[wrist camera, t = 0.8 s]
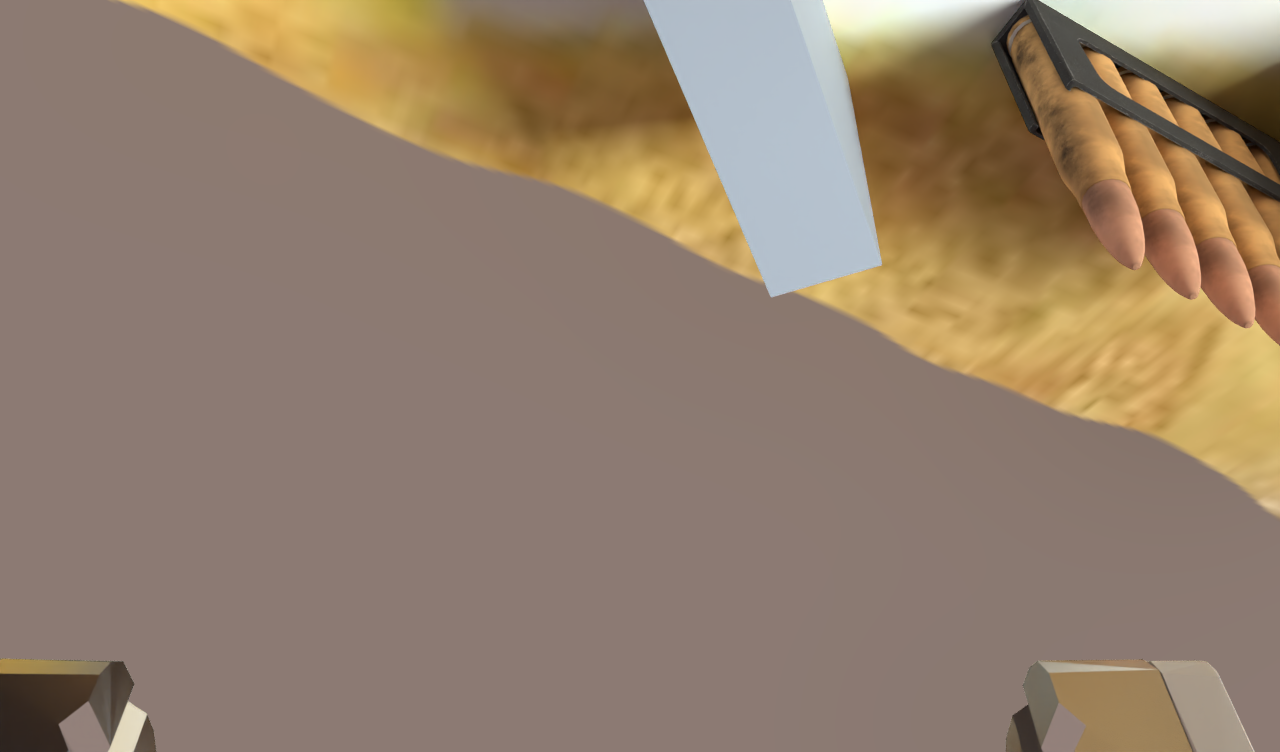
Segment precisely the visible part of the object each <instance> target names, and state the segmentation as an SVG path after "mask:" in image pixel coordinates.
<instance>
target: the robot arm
mask: <svg viewBox="0 0 1280 752" xmlns="http://www.w3.org/2000/svg"><path fill="white" fill-rule="evenodd" d="M133 686H134V682H133V680H132V678H131V676H130V674H129V672H128V670H127V668H126V666H125V664H124V662H123V661H84V660H83V661H82V660H34V659H6V658H5V659H4V658H2V659H1V658H0V752H156V745H155V737H154V730H153V727H152V725H151V723H150V720H149V717H148V715H147V714H146V713H145V712H143V711H142V710H140V709H139V708H137V707H135V706H134V705H133V704H131V703H130V702H128V699H129V697H130V694H131V692H132V689H133ZM1023 688H1024V691H1025V695H1026V698H1027V702H1028V705H1027V706H1025V707H1024V708H1022V709H1021V710H1019V711H1018V712H1017V713H1015V714H1014V715H1013V716H1012V719H1011V722H1010V726H1009V729H1008V733H1007V737H1006V752H1255V751H1254V749H1253V747H1252V745H1251V743H1250V741H1249V739H1248V737H1247V735H1246V732H1245V730H1244V728H1243V726H1242V724H1241V722H1240V719H1239V717H1238V715H1237V713H1236V711H1235V709H1234V707H1233V705H1232V702H1231V700H1230V698H1229V696H1228V694H1227V692H1226V690H1225V687H1224V685H1223V683H1222V681H1221V679H1220V677H1219V675H1218V672H1217V671H1216V670H1215V669H1214V668H1213V667H1212V666H1210V664H1209V663H1208V662H1205V661H1149V662H1148V661H1147V662H1146V661H1144V660H1142V659H1141V660H1140V659H1139V660H1069V661H1068V660H1067V661H1037V662H1036V663H1034V664H1033V665H1032V666H1031V667H1030V668H1029V670H1028V672H1027V675H1026V678H1025V681H1024V683H1023Z"/></svg>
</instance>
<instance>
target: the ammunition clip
mask: <svg viewBox="0 0 1280 752" xmlns="http://www.w3.org/2000/svg"><path fill="white" fill-rule="evenodd" d="M991 44H992V48H993V50H994V53H995V55H996V57H997V59H998V62H999V64H1000V66H1001V69H1002V71H1003V73H1004V76H1005V78H1006V80H1007V82H1008V85H1009V87H1010V89H1011V92H1012V94H1013V96H1014V98H1015V101H1016V103H1017V105H1018V108H1019V110H1020V112H1021V115H1022V117H1023V119H1024V121H1025V124H1026V126H1027V128H1028V131H1029V132H1030V133H1032V134H1034V135H1036V136H1037V137H1039V138H1041V139H1043V140H1045V142H1046V144H1047V146H1048V149H1049V151H1050V154H1051V156H1052V158H1053V161H1054V163H1055V166H1056V168H1057V171H1058V173H1059V175H1060V177H1061V179H1062V181H1063V182H1064V184H1065V185H1066V186H1067V187H1068V189H1069V190H1070V191H1071V192H1072V193H1073V194H1074V195H1075V197H1076V199H1077V201H1078V203H1079V205H1080V207H1081V209H1082V211H1083V212H1084V213H1085V215H1086V217H1087V220H1088V222H1089V224H1090V226H1091V228H1092V229H1093V231H1094V233H1095V234H1096V236H1097V237H1098V239H1099V240H1100V242H1101V243H1102V244H1103V246H1104V247H1105V248H1106V249H1107V251H1108V252H1109V253H1110V254H1111V255H1112V256H1113V257H1114V258H1115V259H1116V260H1117V261H1118V262H1120V263H1121V264H1123V265H1124V266H1126V267H1128V268H1130V269H1133V270H1137V269H1139V268H1140V267H1141V265H1142V262H1143V258H1144V254H1145V256H1146V257H1147V259H1148V260H1149V262H1150V263H1151V265H1152V266H1153V268H1154V269H1155V270H1156V272H1157V273H1158V274H1159V275H1160V277H1161V278H1162V279H1163V280H1164V281H1165V282H1166V283H1167V284H1168V285H1169V286H1170V287H1171V288H1172V289H1173V290H1174V291H1176V292H1177V293H1178V294H1180V295H1182V296H1184V297H1186V298H1188V299H1195V298H1197V296H1198V294H1199V291H1200V287H1201V288H1202V290H1203V291H1204V292H1205V294H1206V295H1207V296H1208V298H1209V299H1210V301H1211V302H1212V303H1213V304H1214V305H1215V306H1216V308H1217V309H1218V310H1219V311H1220V312H1221V313H1223V314H1224V315H1225V316H1226V317H1227V318H1228V319H1229V320H1231V321H1232V322H1234V323H1235V324H1237V325H1239V326H1241V327H1244V328H1250V327H1251V326H1252V325H1253V323H1254V319H1255V320H1256V321H1257V323H1258V324H1259V325H1260V327H1261V328H1262V329H1263V330H1264V331H1265V332H1266V333H1267V334H1268V335H1269V336H1270V337H1271V338H1272V339H1273V340H1274V341H1275V342H1276V343H1277V344H1279V345H1280V142H1278V141H1277V140H1275V139H1273V138H1272V137H1270V136H1268V135H1266V134H1265V133H1263V132H1261V131H1260V130H1258V129H1256V128H1255V127H1253V126H1251V125H1249V124H1248V123H1246V122H1244V121H1243V120H1241V119H1239V118H1238V117H1236V116H1234V115H1232V114H1231V113H1229V112H1227V111H1226V110H1224V109H1222V108H1221V107H1219V106H1217V105H1215V104H1214V103H1212V102H1210V101H1209V100H1207V99H1205V98H1204V97H1202V96H1200V95H1198V94H1197V93H1195V92H1193V91H1192V90H1190V89H1188V88H1187V87H1185V86H1183V85H1181V84H1180V83H1178V82H1176V81H1175V80H1173V79H1171V78H1170V77H1168V76H1166V75H1164V74H1163V73H1161V72H1159V71H1158V70H1156V69H1154V68H1153V67H1151V66H1149V65H1147V64H1146V63H1144V62H1142V61H1141V60H1139V59H1137V58H1136V57H1134V56H1132V55H1130V54H1129V53H1127V52H1125V51H1124V50H1122V49H1120V48H1119V47H1117V46H1115V45H1113V44H1112V43H1110V42H1108V41H1107V40H1105V39H1103V38H1102V37H1100V36H1098V35H1096V34H1095V33H1093V32H1091V31H1090V30H1088V29H1086V28H1085V27H1083V26H1081V25H1079V24H1078V23H1076V22H1074V21H1073V20H1071V19H1069V18H1068V17H1066V16H1064V15H1062V14H1061V13H1059V12H1057V11H1056V10H1054V9H1052V8H1051V7H1049V6H1047V5H1045V4H1044V3H1042V2H1040V1H1039V0H1026V1H1025V2H1024V3H1023V4H1022V6H1021V7H1020V8H1019V9H1018V11H1017V12H1016V13H1015V14H1014V16H1013V17H1012V18H1011V19H1010V21H1009V22H1008V23H1007V24H1006V26H1005V27H1004V28H1003V30H1002V31H1001V32H1000V33H999V35H998V36H997V37H996V38H995V40H994V41H993V42H992V43H991Z"/></svg>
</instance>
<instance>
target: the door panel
mask: <svg viewBox="0 0 1280 752" xmlns="http://www.w3.org/2000/svg"><path fill="white" fill-rule="evenodd" d="M644 2H645V5H646V7H647V9H648V12H649V14H650V16H651V19H652V21H653V23H654V26H655V28H656V30H657V33H658V35H659V37H660V40H661V42H662V44H663V47H664V49H665V51H666V54H667V56H668V58H669V61H670V63H671V65H672V68H673V70H674V72H675V75H676V77H677V79H678V82H679V84H680V86H681V89H682V91H683V93H684V96H685V98H686V100H687V103H688V105H689V107H690V110H691V112H692V114H693V117H694V119H695V121H696V124H697V126H698V128H699V131H700V133H701V135H702V138H703V140H704V142H705V145H706V147H707V149H708V152H709V154H710V156H711V159H712V161H713V163H714V166H715V168H716V170H717V173H718V175H719V177H720V180H721V182H722V184H723V187H724V189H725V191H726V194H727V196H728V198H729V201H730V203H731V205H732V208H733V210H734V212H735V215H736V217H737V219H738V222H739V224H740V226H741V229H742V231H743V233H744V236H745V238H746V240H747V243H748V245H749V247H750V250H751V252H752V254H753V257H754V259H755V261H756V264H757V266H758V268H759V271H760V273H761V275H762V278H763V280H764V282H765V285H766V287H767V289H768V292H769V294H770V296H771V297H774V296H778V295H781V294H784V293H788V292H791V291H795V290H798V289H802V288H805V287H809V286H812V285H815V284H819V283H822V282H826V281H829V280H833V279H836V278H839V277H843V276H846V275H850V274H853V273H857V272H860V271H863V270H867V269H870V268H874V267H877V266H881V265H882V262H881V256H880V251H879V245H878V240H877V234H876V229H875V223H874V218H873V212H872V207H871V201H870V196H869V191H868V185H867V180H866V174H865V169H864V163H863V158H862V152H861V147H860V141H859V136H858V130H857V125H856V119H855V114H854V108H853V103H852V97H851V92H850V86H849V81H848V77H847V74H846V71H845V67H844V64H843V61H842V58H841V55H840V52H839V49H838V46H837V43H836V40H835V37H834V34H833V31H832V28H831V25H830V22H829V19H828V15H827V12H826V9H825V6H824V3H823V0H644Z"/></svg>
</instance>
